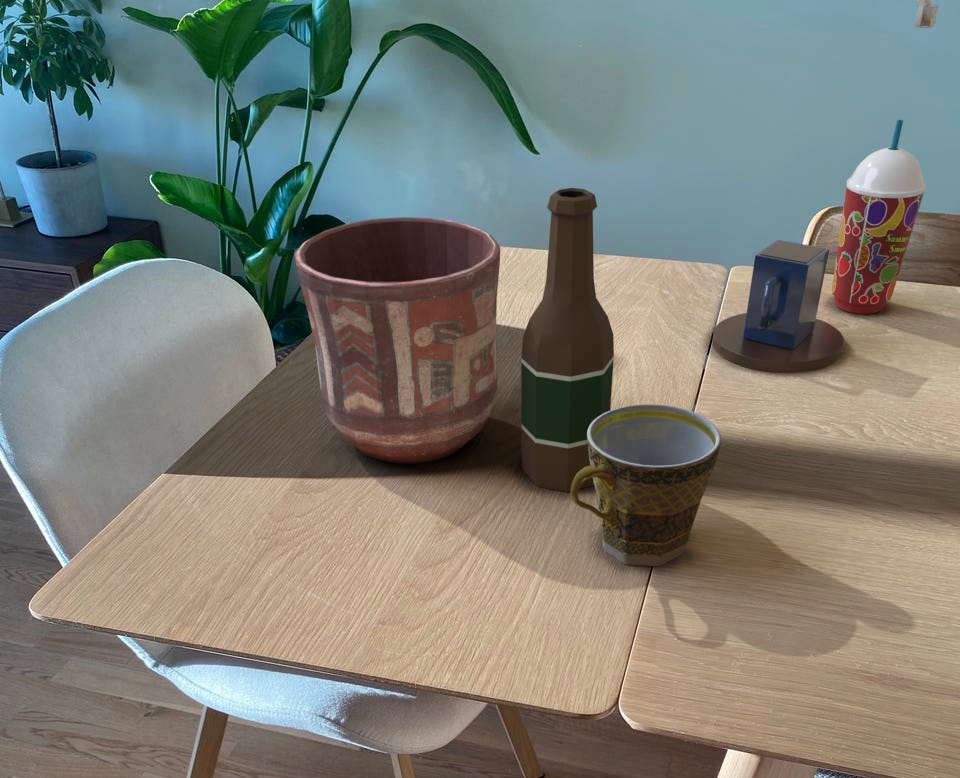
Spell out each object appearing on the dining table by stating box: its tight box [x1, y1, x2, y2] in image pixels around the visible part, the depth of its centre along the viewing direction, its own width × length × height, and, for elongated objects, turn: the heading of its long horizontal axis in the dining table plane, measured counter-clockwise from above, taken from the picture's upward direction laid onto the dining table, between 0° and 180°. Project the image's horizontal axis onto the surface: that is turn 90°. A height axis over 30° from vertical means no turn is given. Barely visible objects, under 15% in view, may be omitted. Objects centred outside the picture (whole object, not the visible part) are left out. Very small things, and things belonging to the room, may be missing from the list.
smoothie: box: [831, 119, 927, 315], centre depth 110 cm, size 8×8×20 cm
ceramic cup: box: [569, 403, 722, 567], centre depth 76 cm, size 13×10×10 cm
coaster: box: [712, 312, 845, 374], centre depth 108 cm, size 14×14×1 cm
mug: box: [743, 239, 830, 350], centre depth 104 cm, size 8×6×9 cm
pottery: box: [294, 216, 501, 465], centre depth 89 cm, size 18×18×18 cm
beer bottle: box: [520, 187, 615, 493], centre depth 81 cm, size 8×8×24 cm
